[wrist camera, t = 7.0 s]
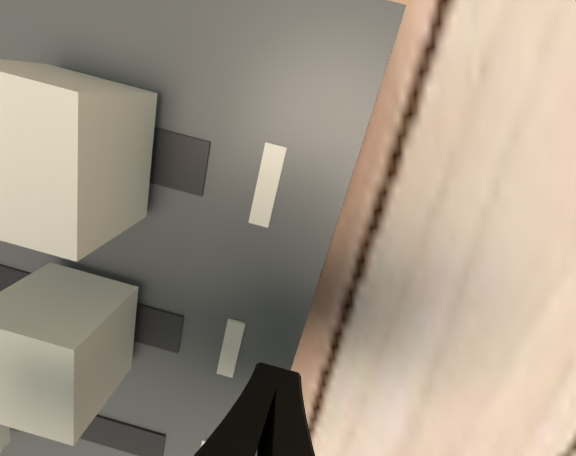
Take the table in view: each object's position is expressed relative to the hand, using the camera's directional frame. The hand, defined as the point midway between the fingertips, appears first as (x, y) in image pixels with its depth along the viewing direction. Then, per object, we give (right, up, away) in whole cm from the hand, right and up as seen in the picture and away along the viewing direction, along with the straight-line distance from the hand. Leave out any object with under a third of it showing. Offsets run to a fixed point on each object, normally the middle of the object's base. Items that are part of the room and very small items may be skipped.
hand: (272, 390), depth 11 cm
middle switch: (-6, +2, +1) cm, 7 cm away
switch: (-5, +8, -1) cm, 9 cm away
